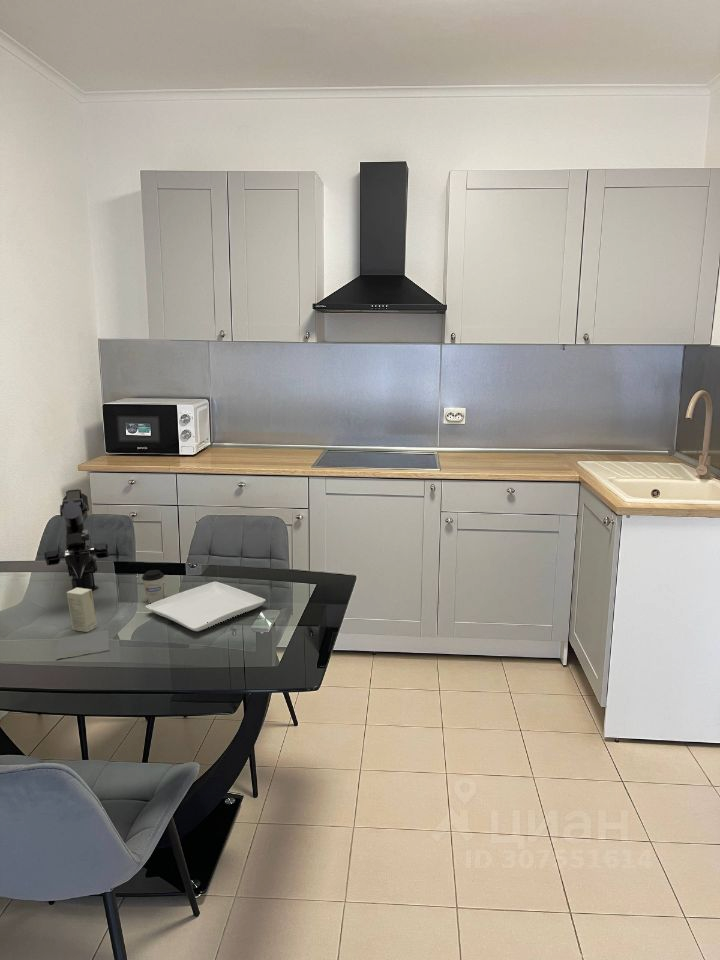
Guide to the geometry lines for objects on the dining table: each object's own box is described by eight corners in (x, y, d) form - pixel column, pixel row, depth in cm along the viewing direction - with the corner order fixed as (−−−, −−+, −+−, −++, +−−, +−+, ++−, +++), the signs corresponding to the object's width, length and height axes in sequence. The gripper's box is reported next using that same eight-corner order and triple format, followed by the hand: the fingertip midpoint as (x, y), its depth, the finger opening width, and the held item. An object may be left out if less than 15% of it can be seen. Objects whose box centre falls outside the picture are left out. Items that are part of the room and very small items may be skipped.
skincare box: (98, 627, 222) (93, 589, 219) (87, 633, 218) (82, 594, 215) (82, 623, 224) (76, 586, 222) (71, 629, 221) (65, 591, 218)
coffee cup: (148, 597, 243) (145, 568, 241) (169, 596, 243) (166, 568, 241) (141, 605, 236) (138, 576, 234) (163, 605, 236) (160, 576, 234)
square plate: (268, 609, 231) (267, 598, 230) (195, 640, 211) (193, 627, 210) (216, 589, 249) (215, 578, 248) (144, 616, 229) (143, 604, 229)
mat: (58, 639, 214) (58, 638, 214) (108, 630, 219) (108, 629, 219) (56, 660, 201) (55, 659, 201) (109, 650, 206) (109, 649, 206)
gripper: (40, 526, 227) (43, 571, 220) (104, 518, 233) (109, 561, 225) (45, 542, 236) (48, 586, 229) (106, 534, 242) (111, 577, 235)
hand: (79, 577), depth 229 cm, fingers closed
